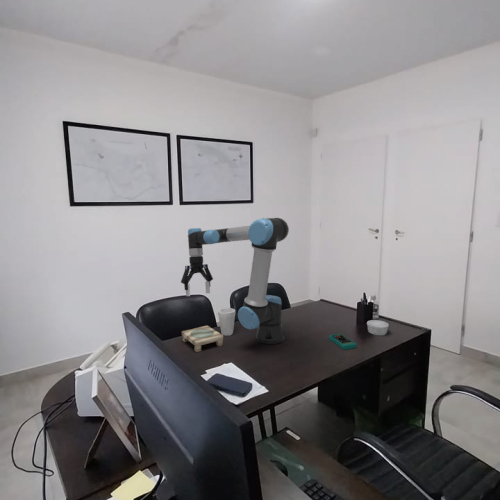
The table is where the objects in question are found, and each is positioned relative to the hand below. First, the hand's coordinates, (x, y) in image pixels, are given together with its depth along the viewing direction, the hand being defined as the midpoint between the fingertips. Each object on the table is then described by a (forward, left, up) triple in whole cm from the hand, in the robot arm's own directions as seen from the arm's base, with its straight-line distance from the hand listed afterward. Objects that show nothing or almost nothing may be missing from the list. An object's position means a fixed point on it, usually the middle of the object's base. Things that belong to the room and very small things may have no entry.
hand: (198, 294), depth 186 cm
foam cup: (-11, -12, -22) cm, 27 cm away
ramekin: (-58, -80, -22) cm, 101 cm away
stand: (-15, +5, -22) cm, 27 cm away
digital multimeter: (-57, -53, -22) cm, 80 cm away
